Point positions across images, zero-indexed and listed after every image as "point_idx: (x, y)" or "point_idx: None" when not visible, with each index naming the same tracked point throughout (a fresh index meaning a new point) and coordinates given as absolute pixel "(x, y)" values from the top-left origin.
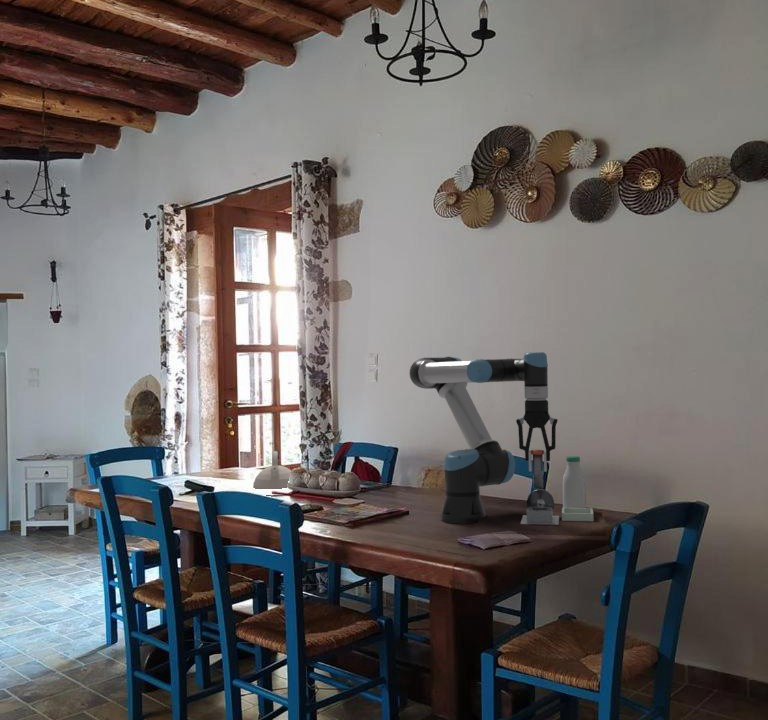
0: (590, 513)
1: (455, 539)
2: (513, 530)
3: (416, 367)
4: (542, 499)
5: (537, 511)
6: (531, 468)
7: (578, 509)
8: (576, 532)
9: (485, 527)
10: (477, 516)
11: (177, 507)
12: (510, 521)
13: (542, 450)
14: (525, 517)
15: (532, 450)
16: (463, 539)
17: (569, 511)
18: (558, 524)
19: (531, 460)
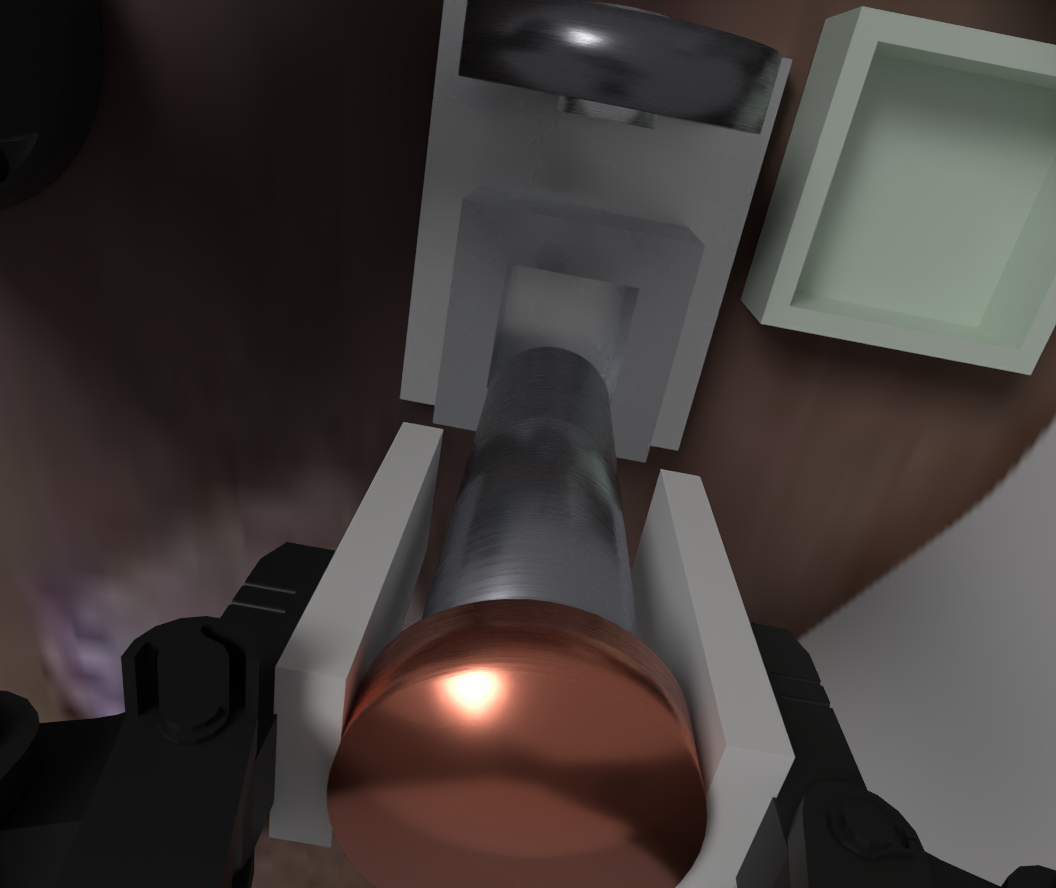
0: (1010, 361)
1: (36, 657)
2: (354, 471)
3: None
4: (635, 110)
5: None
6: (426, 517)
7: (1017, 69)
8: (756, 566)
9: (153, 356)
10: (26, 178)
11: None
12: (332, 127)
13: (652, 858)
14: (458, 126)
15: (369, 818)
16: (79, 661)
17: (915, 54)
18: (677, 450)
19: (406, 532)
